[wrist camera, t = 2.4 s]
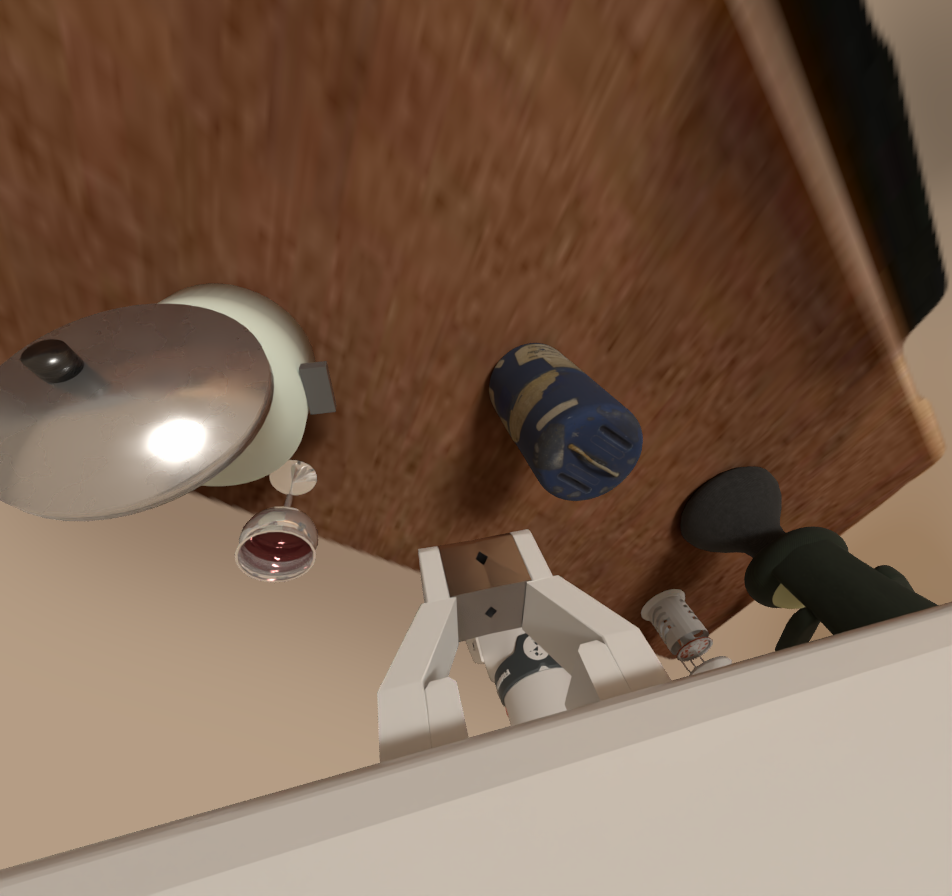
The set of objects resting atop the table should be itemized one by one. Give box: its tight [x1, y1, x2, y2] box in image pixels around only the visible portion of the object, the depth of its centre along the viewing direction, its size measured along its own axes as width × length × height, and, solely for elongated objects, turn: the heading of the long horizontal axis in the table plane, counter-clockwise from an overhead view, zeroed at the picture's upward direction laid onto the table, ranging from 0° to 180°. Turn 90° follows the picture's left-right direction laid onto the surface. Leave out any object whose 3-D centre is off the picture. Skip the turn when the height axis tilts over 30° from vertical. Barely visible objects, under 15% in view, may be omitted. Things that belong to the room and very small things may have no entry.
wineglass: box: [235, 460, 318, 582], centre depth 41 cm, size 7×7×12 cm
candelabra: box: [681, 467, 939, 651], centre depth 49 cm, size 19×22×45 cm
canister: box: [489, 343, 643, 501], centre depth 39 cm, size 10×10×18 cm
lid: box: [0, 303, 274, 521], centre depth 22 cm, size 14×14×2 cm
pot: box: [158, 284, 336, 486], centre depth 34 cm, size 14×18×10 cm
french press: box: [641, 589, 732, 676], centre depth 73 cm, size 10×12×25 cm
